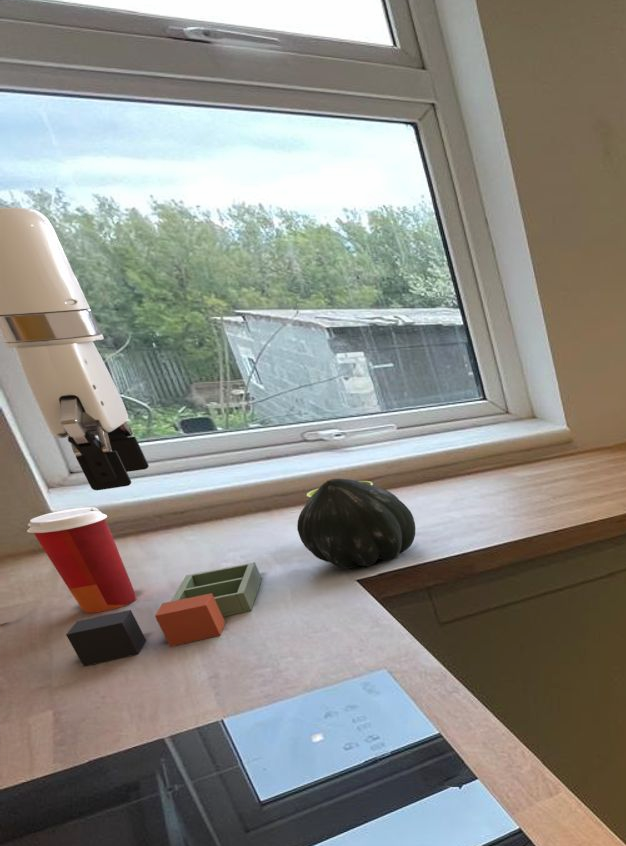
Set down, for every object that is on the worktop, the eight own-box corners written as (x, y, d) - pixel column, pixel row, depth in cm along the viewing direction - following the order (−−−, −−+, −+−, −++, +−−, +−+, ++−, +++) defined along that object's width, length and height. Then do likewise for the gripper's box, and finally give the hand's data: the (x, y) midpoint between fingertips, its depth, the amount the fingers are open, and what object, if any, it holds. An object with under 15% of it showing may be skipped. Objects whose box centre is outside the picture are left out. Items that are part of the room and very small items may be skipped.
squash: (396, 504, 142) (309, 456, 129) (449, 517, 136) (363, 468, 123) (348, 576, 137) (252, 533, 124) (401, 592, 131) (306, 549, 118)
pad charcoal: (83, 666, 101) (65, 634, 99) (93, 651, 105) (76, 620, 103) (138, 654, 104) (122, 622, 102) (146, 640, 107) (130, 609, 106)
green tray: (175, 627, 111) (166, 608, 110) (193, 592, 122) (185, 575, 121) (251, 610, 115) (243, 592, 114) (262, 578, 126) (254, 562, 125)
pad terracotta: (170, 646, 105) (154, 615, 103) (176, 633, 109) (162, 603, 107) (220, 635, 108) (206, 604, 106) (225, 622, 112) (211, 592, 110)
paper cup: (146, 589, 124) (103, 502, 119) (146, 603, 119) (101, 513, 114) (73, 606, 119) (25, 515, 114) (69, 621, 114) (19, 527, 109)
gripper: (26, 328, 94) (97, 470, 101) (-29, 339, 81) (56, 502, 88) (115, 322, 98) (178, 459, 105) (77, 331, 85) (151, 487, 92)
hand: (122, 478), depth 96 cm, fingers open, 9 cm apart
